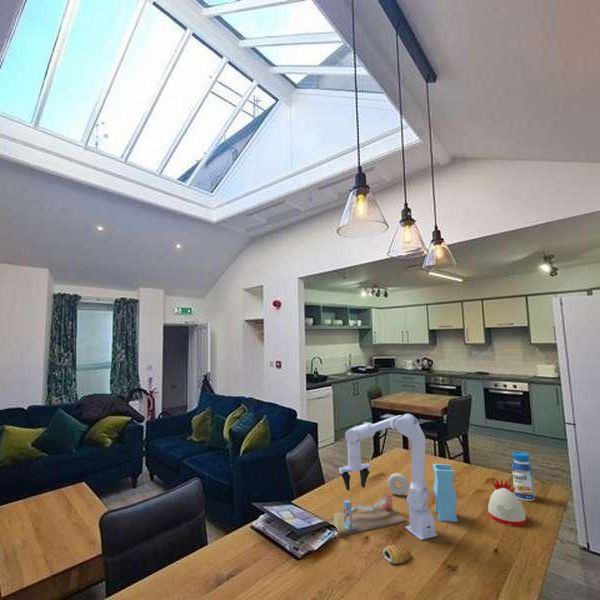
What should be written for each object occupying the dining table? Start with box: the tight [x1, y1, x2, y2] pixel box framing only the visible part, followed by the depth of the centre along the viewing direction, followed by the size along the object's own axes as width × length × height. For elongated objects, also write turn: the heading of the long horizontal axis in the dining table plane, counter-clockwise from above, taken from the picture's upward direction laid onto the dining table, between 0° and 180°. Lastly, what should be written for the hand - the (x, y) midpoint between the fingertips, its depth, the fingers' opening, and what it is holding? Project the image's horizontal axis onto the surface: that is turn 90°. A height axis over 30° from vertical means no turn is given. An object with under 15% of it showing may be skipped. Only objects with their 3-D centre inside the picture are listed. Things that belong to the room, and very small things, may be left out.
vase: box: [432, 463, 458, 523], centre depth 148 cm, size 8×8×20 cm
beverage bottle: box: [511, 451, 536, 502], centre depth 164 cm, size 8×8×20 cm
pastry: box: [382, 544, 412, 565], centre depth 120 cm, size 9×7×4 cm
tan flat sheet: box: [324, 507, 408, 539], centre depth 144 cm, size 13×32×1 cm, turn 110°
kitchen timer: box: [487, 478, 527, 527], centre depth 146 cm, size 14×14×15 cm
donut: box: [387, 472, 410, 496], centre depth 169 cm, size 10×4×10 cm, turn 68°
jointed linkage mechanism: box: [333, 492, 394, 535], centre depth 144 cm, size 5×32×6 cm, turn 123°
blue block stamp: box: [342, 499, 356, 531], centre depth 140 cm, size 4×6×10 cm, turn 20°
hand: (355, 488), depth 152 cm, fingers open, 7 cm apart
